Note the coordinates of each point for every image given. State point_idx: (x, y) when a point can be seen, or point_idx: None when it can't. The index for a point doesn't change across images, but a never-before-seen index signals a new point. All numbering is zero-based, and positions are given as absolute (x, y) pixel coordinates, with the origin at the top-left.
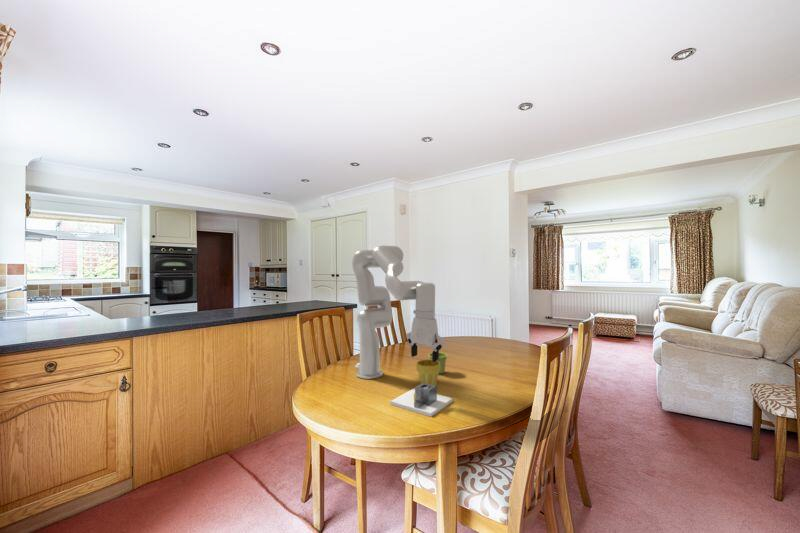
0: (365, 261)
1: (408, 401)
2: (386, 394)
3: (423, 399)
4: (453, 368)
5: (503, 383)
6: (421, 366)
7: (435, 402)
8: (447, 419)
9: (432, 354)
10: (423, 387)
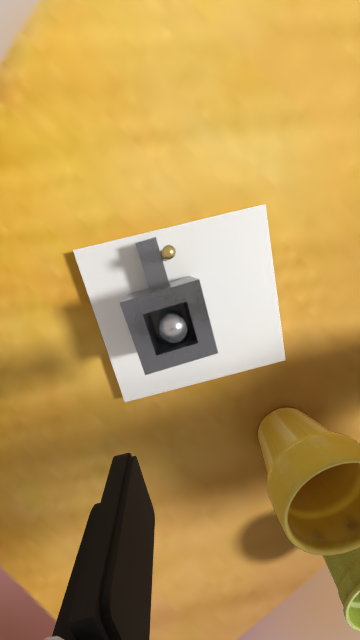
0: None
1: (212, 260)
2: (334, 259)
3: (152, 288)
4: (313, 569)
5: None
6: (337, 457)
7: None
8: (26, 282)
9: (119, 539)
10: (183, 323)
